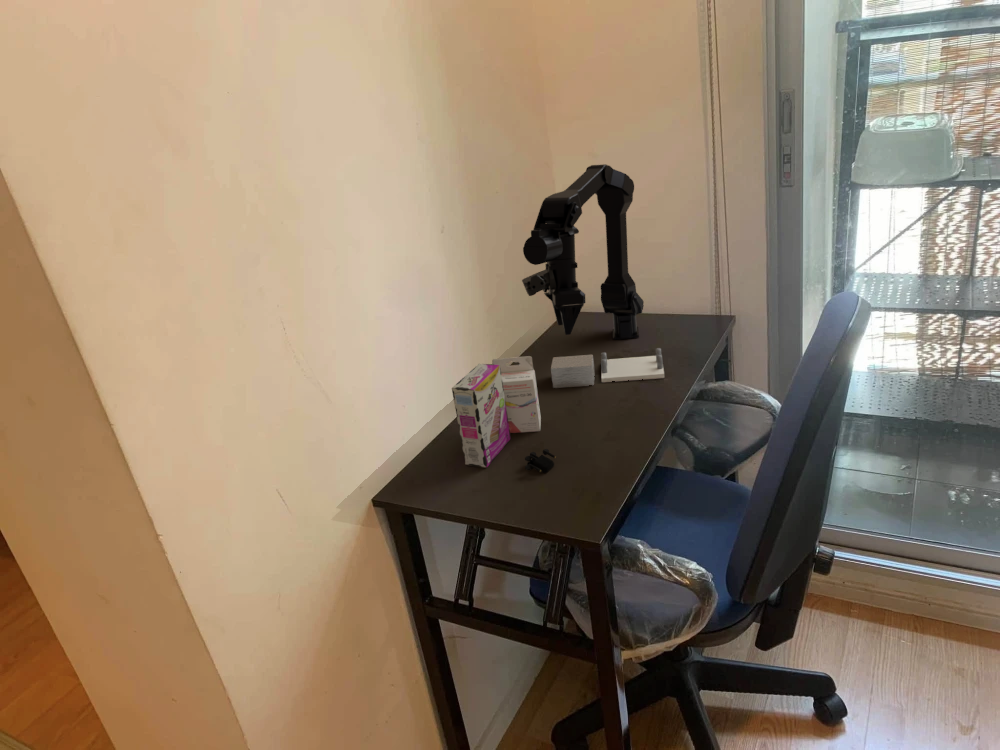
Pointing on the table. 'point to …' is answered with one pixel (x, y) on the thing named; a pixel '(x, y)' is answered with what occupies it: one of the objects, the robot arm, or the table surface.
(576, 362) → the block
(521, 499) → the table surface
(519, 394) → the ink cartridge box
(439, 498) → the table surface
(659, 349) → the pin tray
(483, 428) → the candy bar box
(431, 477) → the table surface
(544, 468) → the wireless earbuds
